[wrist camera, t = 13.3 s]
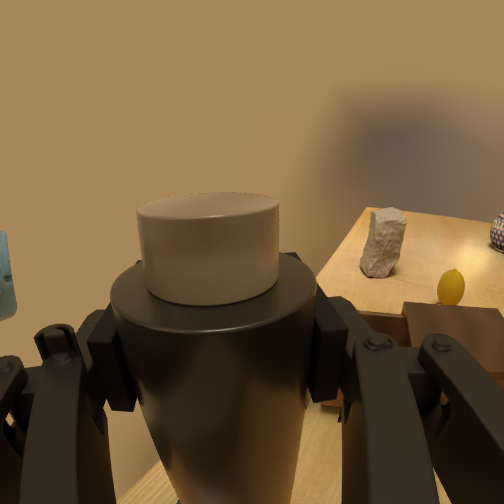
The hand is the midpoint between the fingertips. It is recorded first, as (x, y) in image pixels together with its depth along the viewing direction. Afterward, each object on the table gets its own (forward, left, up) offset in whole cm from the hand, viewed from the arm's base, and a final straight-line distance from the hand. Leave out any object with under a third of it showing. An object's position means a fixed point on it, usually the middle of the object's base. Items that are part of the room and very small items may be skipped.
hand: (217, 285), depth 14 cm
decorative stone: (+11, +60, -21) cm, 65 cm away
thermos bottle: (+2, -5, -11) cm, 13 cm away
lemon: (+25, +43, -21) cm, 54 cm away
